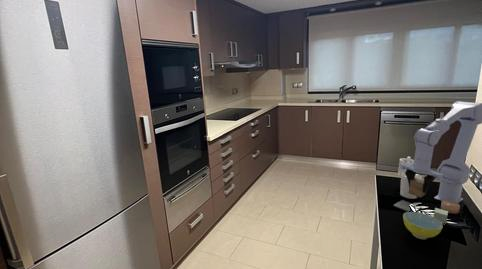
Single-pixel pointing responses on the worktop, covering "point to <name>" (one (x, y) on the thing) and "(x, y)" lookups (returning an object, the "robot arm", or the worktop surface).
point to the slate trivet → (403, 205)
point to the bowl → (422, 225)
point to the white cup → (407, 186)
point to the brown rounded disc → (450, 206)
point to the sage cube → (440, 215)
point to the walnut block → (416, 187)
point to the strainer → (404, 163)
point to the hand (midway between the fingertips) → (417, 189)
